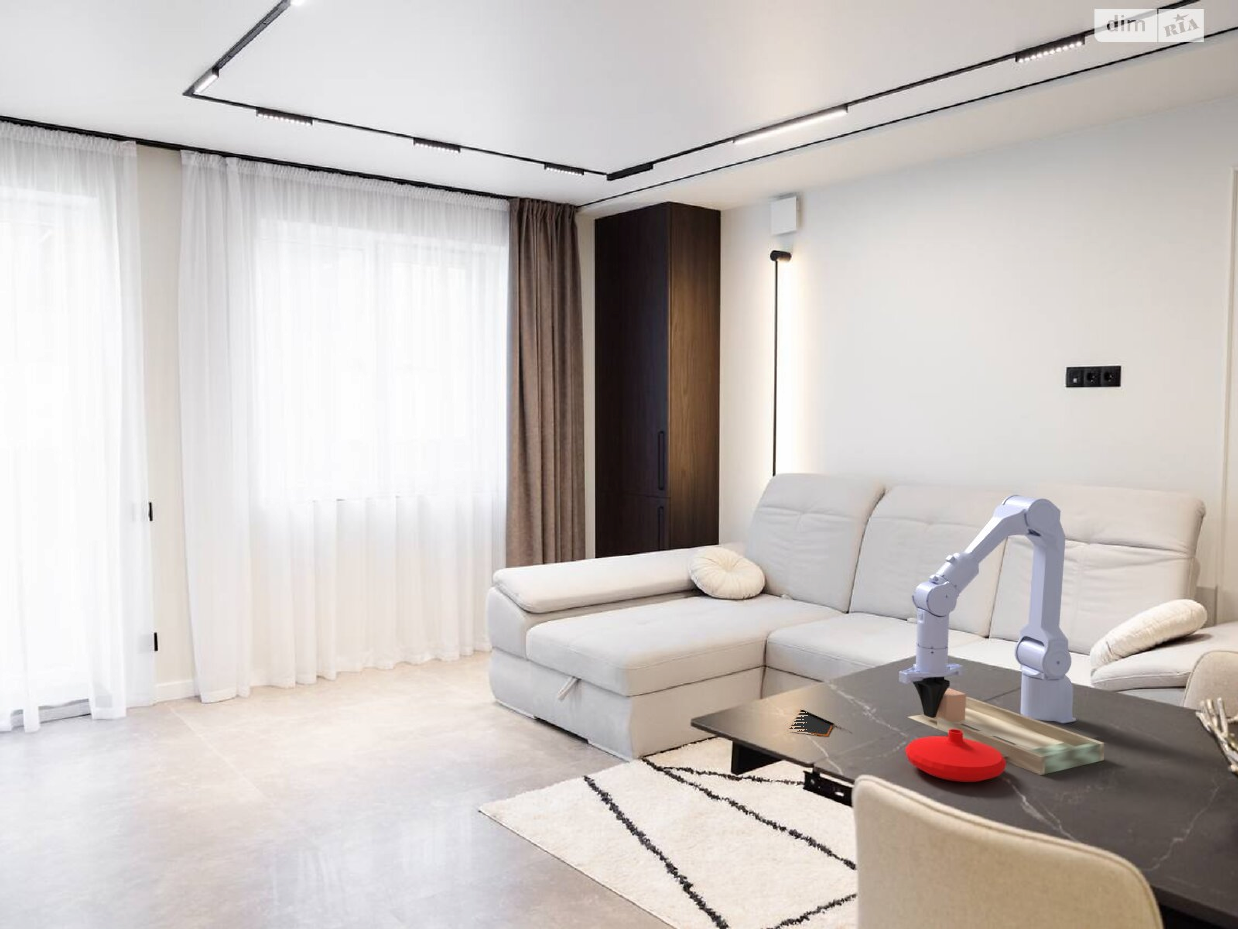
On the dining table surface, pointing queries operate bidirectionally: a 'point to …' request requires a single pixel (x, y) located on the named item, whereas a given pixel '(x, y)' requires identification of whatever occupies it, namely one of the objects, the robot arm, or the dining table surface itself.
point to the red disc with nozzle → (955, 757)
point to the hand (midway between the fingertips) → (929, 716)
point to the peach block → (952, 706)
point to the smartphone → (813, 724)
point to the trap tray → (1022, 738)
